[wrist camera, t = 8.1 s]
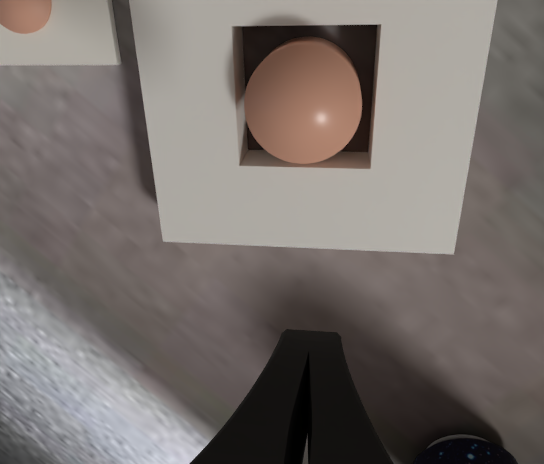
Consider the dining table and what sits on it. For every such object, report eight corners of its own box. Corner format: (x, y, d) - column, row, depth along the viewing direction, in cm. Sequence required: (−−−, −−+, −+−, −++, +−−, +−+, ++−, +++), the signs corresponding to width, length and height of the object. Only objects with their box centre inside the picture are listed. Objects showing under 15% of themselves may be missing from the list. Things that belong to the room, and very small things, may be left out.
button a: (357, 143, 20) (358, 165, 17) (257, 141, 20) (246, 162, 18) (363, 35, 18) (366, 44, 16) (253, 37, 18) (241, 45, 16)
